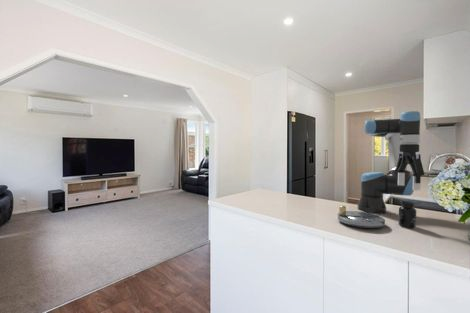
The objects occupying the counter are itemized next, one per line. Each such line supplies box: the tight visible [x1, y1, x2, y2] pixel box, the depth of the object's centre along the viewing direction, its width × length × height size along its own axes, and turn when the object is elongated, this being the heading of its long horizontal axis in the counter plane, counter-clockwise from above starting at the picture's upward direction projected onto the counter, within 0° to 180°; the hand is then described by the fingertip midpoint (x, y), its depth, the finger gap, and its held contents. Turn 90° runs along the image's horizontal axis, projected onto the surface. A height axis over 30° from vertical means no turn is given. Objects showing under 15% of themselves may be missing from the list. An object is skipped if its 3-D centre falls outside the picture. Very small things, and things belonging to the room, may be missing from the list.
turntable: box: [337, 205, 386, 229], centre depth 114 cm, size 21×21×7 cm
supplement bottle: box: [398, 200, 417, 229], centre depth 109 cm, size 7×7×12 cm
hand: (408, 187), depth 109 cm, fingers open, 13 cm apart
